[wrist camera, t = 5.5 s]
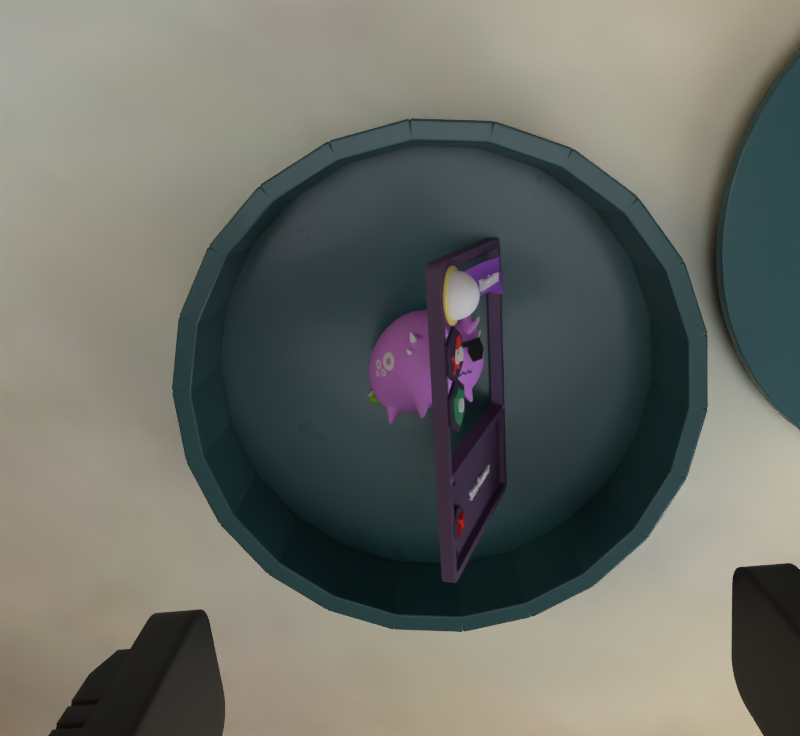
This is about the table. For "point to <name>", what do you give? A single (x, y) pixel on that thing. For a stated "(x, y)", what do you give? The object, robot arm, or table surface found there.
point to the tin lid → (765, 245)
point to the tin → (414, 436)
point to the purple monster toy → (451, 392)
